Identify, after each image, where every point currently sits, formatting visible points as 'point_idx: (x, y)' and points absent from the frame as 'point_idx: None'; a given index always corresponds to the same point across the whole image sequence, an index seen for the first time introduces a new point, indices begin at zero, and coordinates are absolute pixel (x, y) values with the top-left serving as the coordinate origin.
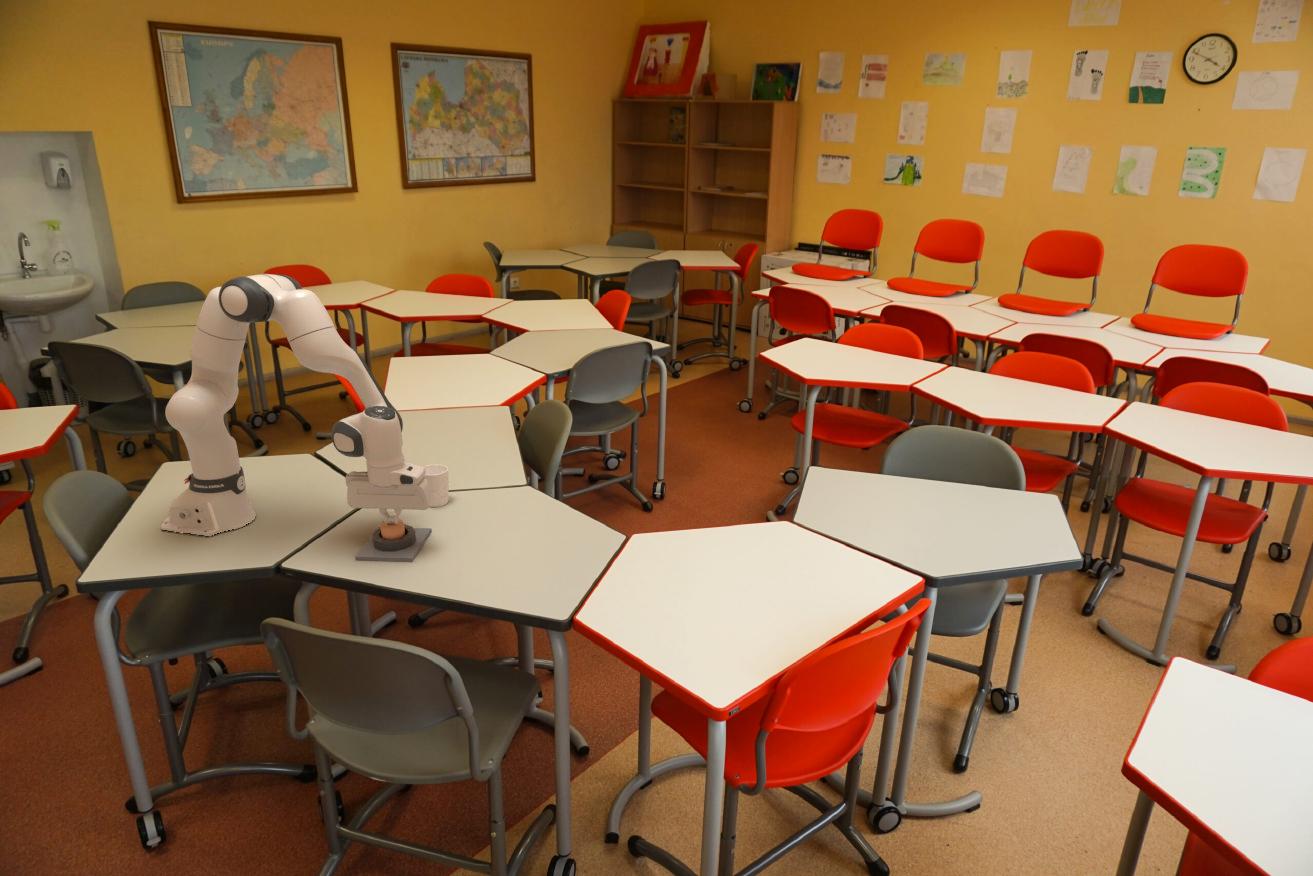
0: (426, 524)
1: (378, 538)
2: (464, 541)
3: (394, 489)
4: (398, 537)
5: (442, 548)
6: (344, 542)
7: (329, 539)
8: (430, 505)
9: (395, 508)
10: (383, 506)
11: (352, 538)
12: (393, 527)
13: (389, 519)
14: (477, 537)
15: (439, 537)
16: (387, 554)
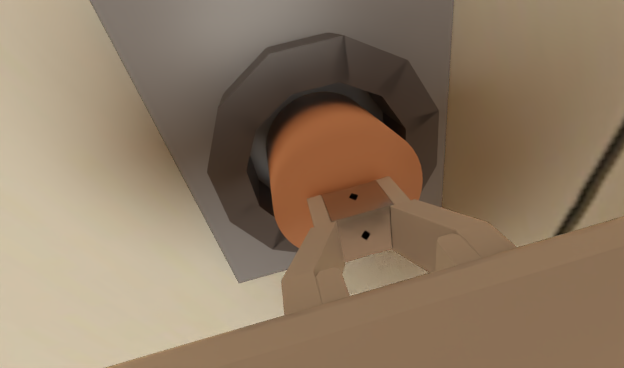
0: None
1: (385, 82)
2: (46, 263)
3: None
4: (277, 137)
5: (81, 186)
6: (536, 96)
7: (597, 100)
8: None
9: (314, 314)
10: (495, 287)
11: (510, 136)
12: (314, 162)
13: (368, 205)
14: (28, 301)
15: (178, 252)
16: (277, 1)
